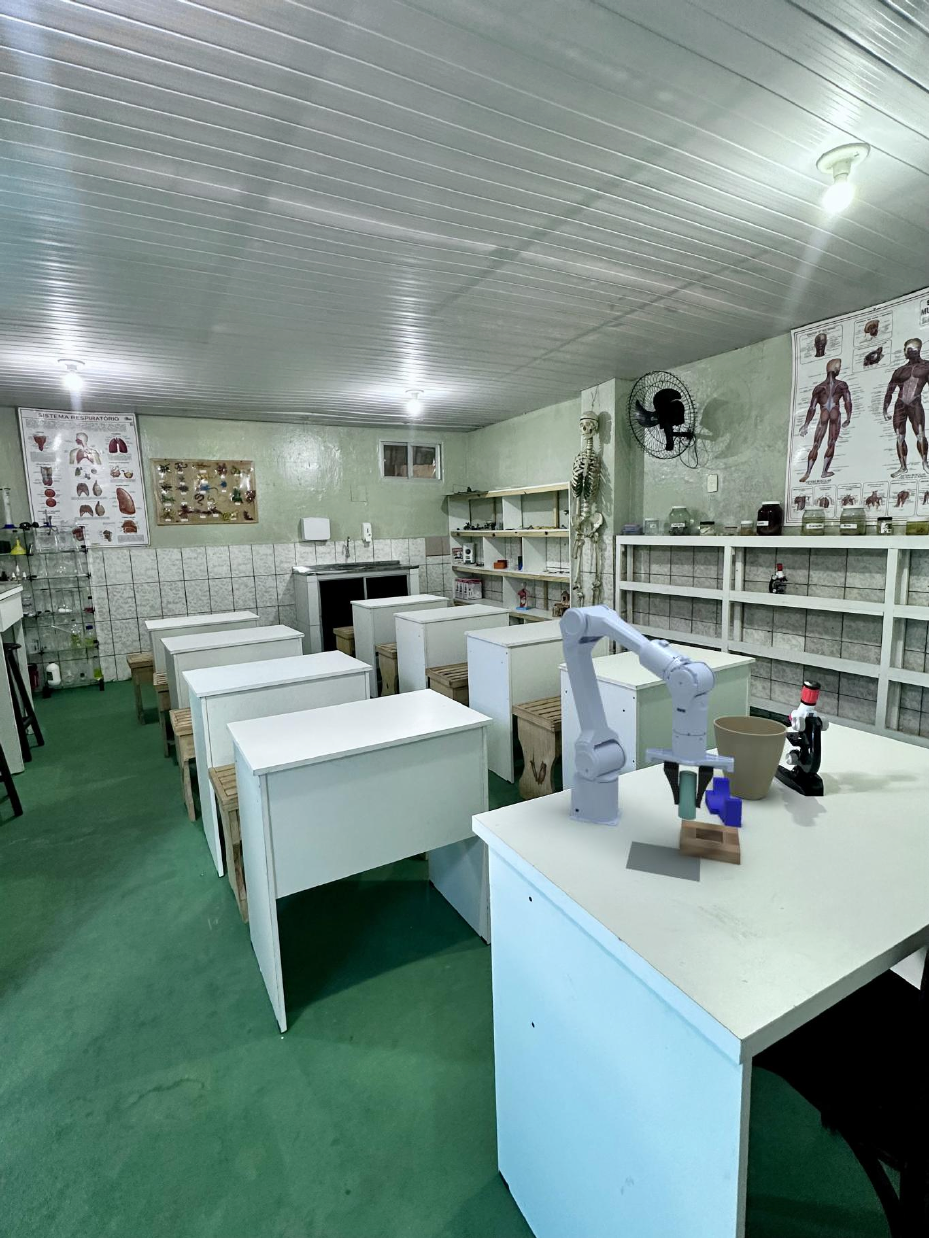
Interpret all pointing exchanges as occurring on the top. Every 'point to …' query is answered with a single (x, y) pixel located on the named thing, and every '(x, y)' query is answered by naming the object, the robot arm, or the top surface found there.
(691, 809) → the peg
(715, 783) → the cable clip
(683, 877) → the mat
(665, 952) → the top surface
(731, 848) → the socket block
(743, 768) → the plant pot
